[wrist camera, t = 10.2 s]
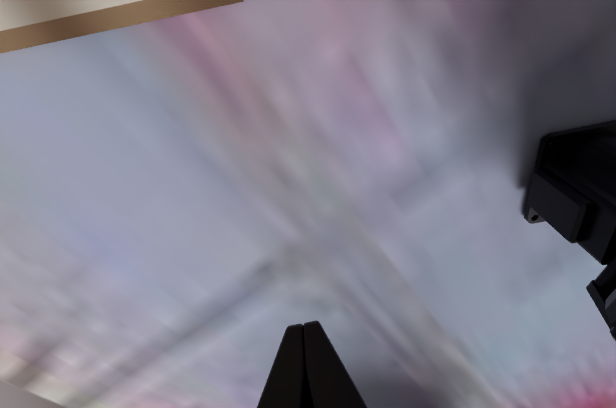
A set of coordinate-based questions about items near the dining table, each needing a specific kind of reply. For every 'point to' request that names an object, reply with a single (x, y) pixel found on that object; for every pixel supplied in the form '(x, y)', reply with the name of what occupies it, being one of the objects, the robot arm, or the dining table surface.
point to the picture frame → (83, 17)
